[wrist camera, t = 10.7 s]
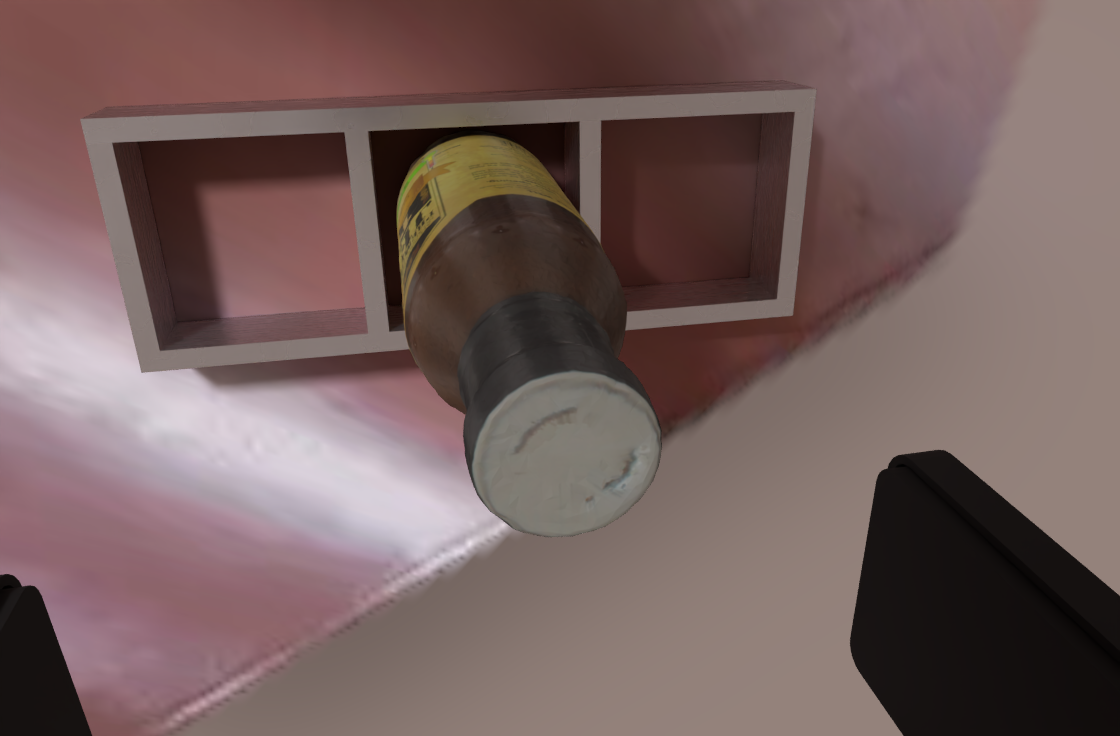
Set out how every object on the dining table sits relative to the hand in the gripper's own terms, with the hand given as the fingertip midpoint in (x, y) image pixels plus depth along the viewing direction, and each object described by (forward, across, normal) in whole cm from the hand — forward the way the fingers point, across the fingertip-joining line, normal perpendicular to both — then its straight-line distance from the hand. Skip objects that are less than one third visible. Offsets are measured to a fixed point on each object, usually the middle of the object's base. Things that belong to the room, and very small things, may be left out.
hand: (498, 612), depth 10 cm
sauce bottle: (+27, -2, +2) cm, 27 cm away
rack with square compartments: (+27, -2, +2) cm, 27 cm away
